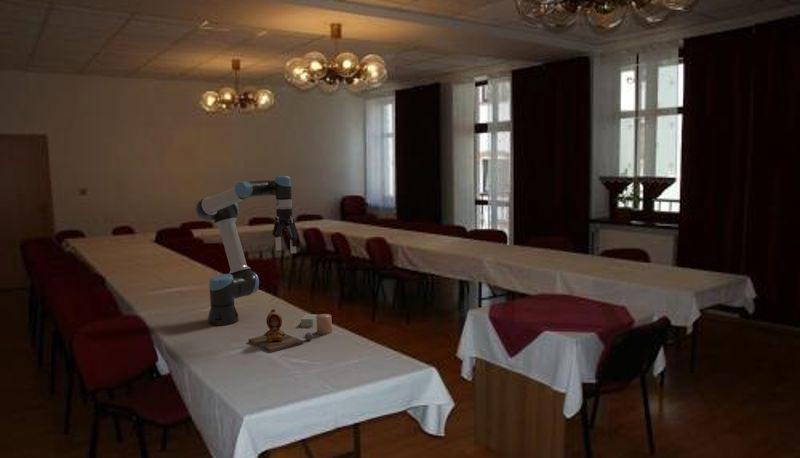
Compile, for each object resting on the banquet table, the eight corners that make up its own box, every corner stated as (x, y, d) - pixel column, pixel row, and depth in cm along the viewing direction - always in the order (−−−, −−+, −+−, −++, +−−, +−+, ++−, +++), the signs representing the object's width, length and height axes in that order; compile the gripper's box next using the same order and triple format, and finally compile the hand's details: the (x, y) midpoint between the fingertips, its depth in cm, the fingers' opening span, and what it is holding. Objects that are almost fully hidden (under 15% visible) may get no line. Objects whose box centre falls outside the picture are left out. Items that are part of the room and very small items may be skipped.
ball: (303, 340, 265) (303, 332, 264) (310, 338, 267) (309, 330, 267) (307, 341, 262) (307, 334, 262) (314, 340, 265) (314, 332, 264)
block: (301, 327, 287) (300, 319, 286) (305, 322, 296) (305, 314, 295) (313, 327, 286) (312, 319, 286) (317, 322, 295) (317, 314, 295)
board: (248, 342, 263) (248, 339, 263) (279, 334, 274) (279, 331, 274) (271, 352, 248) (271, 348, 248) (303, 343, 259) (303, 340, 259)
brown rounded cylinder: (314, 332, 277) (313, 315, 276) (326, 329, 281) (325, 313, 280) (322, 335, 271) (322, 318, 271) (334, 332, 276) (334, 315, 275)
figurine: (264, 343, 255) (262, 309, 257) (263, 342, 262) (261, 309, 264) (287, 341, 258) (285, 307, 259) (285, 340, 265) (284, 307, 267)
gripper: (264, 207, 290) (266, 249, 292) (291, 210, 271) (293, 255, 274) (277, 206, 295) (279, 248, 297) (305, 208, 276) (306, 253, 279)
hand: (285, 251), depth 285 cm, fingers open, 13 cm apart
